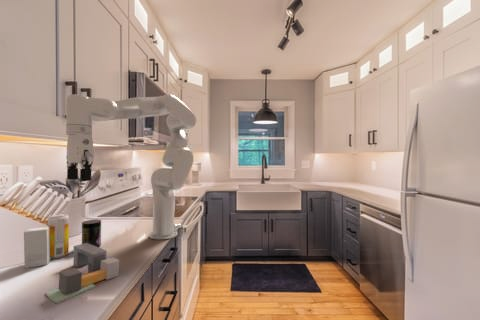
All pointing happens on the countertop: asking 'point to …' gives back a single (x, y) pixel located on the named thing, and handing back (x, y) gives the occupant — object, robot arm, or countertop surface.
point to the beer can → (58, 235)
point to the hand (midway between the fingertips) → (79, 180)
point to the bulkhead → (88, 256)
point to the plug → (87, 276)
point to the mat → (60, 296)
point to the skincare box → (36, 247)
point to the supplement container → (91, 232)
